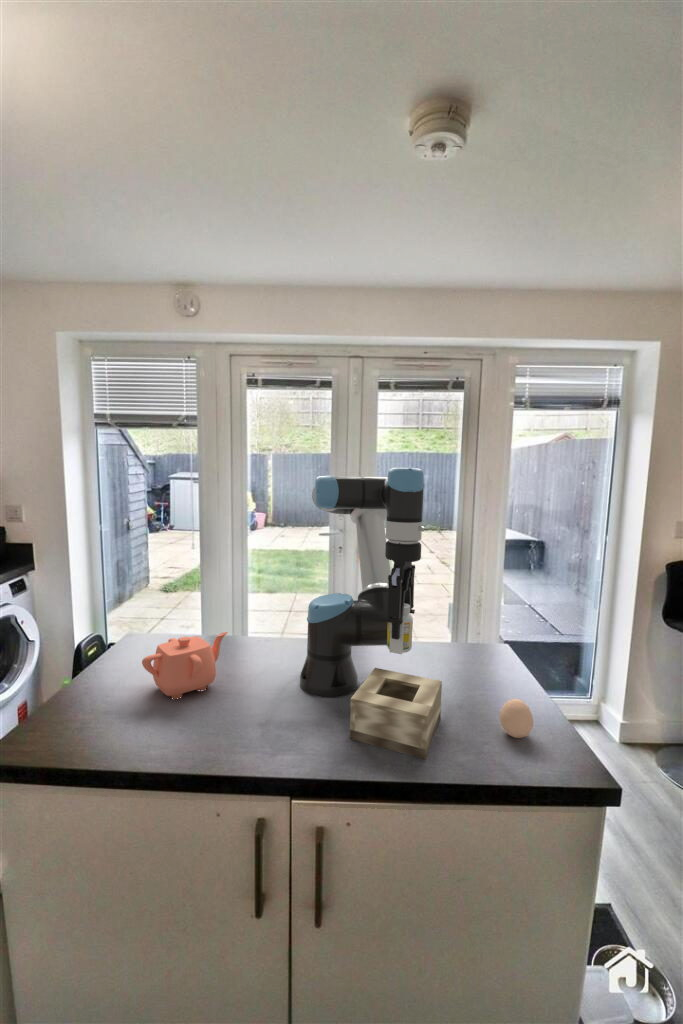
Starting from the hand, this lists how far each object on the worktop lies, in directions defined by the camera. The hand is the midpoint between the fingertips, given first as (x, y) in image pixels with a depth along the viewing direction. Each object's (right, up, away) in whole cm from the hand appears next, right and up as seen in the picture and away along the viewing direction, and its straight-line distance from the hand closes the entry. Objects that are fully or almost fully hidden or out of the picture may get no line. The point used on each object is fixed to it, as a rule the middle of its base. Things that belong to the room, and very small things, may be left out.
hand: (399, 647), depth 93 cm
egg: (+25, -19, 0) cm, 31 cm away
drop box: (0, -18, +1) cm, 18 cm away
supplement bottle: (0, 0, 0) cm, 1 cm away
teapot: (-52, -16, +18) cm, 57 cm away
